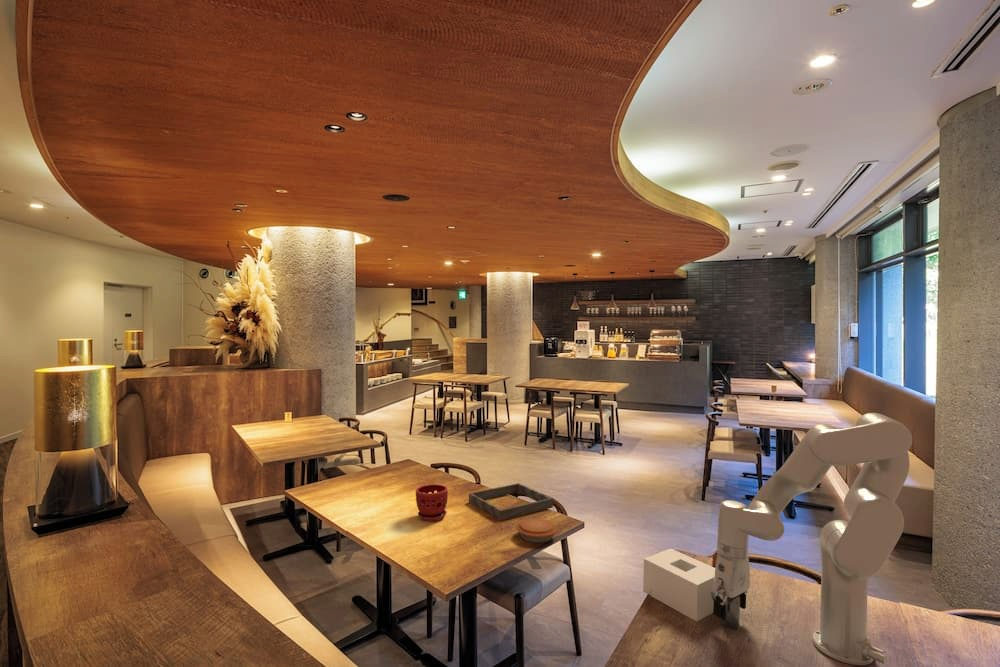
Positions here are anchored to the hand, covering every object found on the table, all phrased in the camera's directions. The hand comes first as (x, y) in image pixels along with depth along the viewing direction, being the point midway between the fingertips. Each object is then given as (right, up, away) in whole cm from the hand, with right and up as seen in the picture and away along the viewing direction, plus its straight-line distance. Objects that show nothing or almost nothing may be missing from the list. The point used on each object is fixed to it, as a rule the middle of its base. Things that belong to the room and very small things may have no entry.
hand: (729, 611), depth 133 cm
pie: (-48, -2, +54) cm, 72 cm away
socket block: (-8, -3, +12) cm, 15 cm away
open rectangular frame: (-57, -1, +86) cm, 104 cm away
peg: (0, -4, 0) cm, 4 cm away
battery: (+9, -4, +21) cm, 23 cm away
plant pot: (-90, -1, +71) cm, 115 cm away
